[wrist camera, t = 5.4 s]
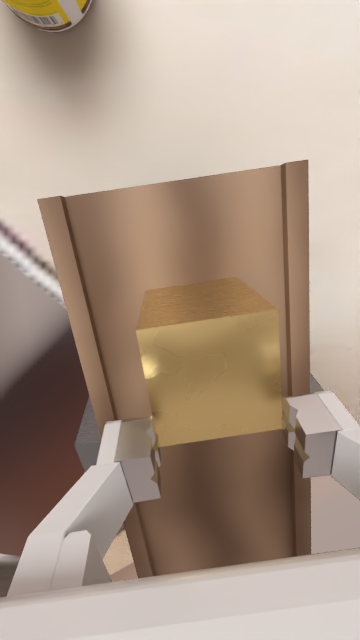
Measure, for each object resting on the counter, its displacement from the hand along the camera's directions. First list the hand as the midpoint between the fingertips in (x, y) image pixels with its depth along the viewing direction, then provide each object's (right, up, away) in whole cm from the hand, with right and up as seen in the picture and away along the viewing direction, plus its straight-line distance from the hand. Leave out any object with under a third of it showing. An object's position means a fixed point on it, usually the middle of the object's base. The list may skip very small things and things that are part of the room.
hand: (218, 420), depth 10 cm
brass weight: (0, +3, +6) cm, 7 cm away
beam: (0, -4, +10) cm, 11 cm away
